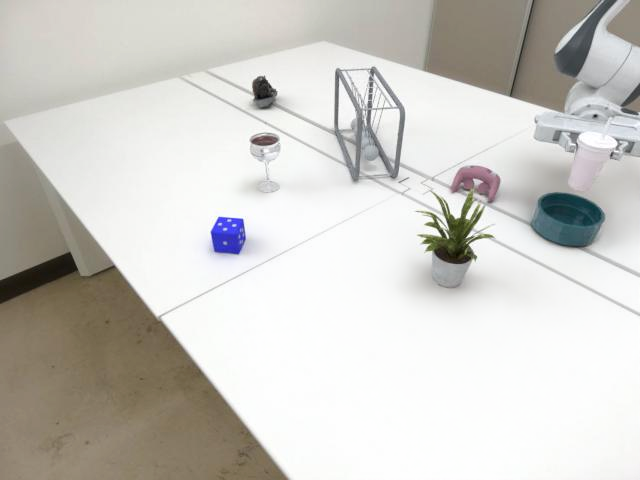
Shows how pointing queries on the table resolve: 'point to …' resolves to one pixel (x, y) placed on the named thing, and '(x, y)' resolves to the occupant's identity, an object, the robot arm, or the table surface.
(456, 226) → the house plant
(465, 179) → the video game controller
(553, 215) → the bowl
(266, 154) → the wineglass
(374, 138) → the newton's cradle
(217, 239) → the die
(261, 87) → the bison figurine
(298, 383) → the table surface
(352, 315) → the table surface
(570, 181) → the smoothie
